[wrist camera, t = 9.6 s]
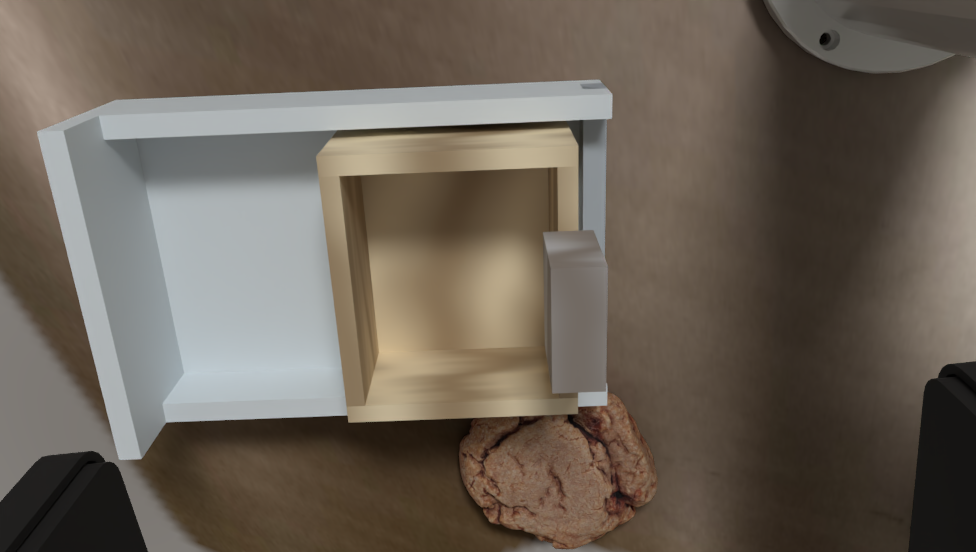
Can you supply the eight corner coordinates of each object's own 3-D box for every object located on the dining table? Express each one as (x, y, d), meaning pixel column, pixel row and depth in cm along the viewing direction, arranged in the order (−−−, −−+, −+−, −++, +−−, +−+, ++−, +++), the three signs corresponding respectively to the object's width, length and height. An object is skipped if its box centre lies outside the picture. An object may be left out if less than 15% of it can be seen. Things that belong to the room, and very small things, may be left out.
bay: (599, 79, 36) (624, 107, 30) (596, 365, 42) (616, 441, 35) (115, 100, 37) (37, 131, 30) (175, 381, 42) (119, 459, 36)
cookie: (457, 378, 43) (455, 408, 40) (658, 376, 43) (670, 405, 40) (461, 531, 46) (460, 568, 43) (646, 529, 46) (656, 565, 43)
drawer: (577, 116, 36) (609, 171, 27) (577, 352, 40) (604, 468, 31) (340, 126, 36) (293, 184, 27) (366, 360, 41) (332, 477, 31)
